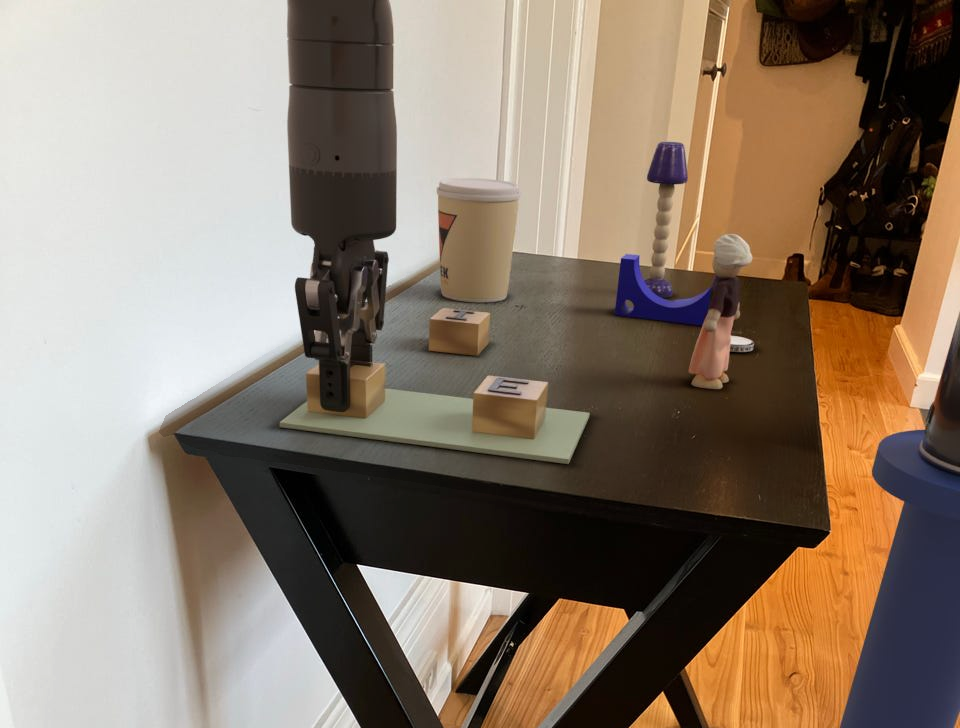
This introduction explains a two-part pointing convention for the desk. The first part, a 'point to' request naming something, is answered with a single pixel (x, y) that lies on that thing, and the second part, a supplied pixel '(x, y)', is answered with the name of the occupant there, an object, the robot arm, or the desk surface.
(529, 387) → the tile
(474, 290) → the coffee cup
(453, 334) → the tile
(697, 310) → the blue curved cradle
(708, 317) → the grandmother figurine
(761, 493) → the desk surface
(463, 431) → the word mat
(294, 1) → the robot arm
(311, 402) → the tile
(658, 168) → the toy lamp
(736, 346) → the washi tape
